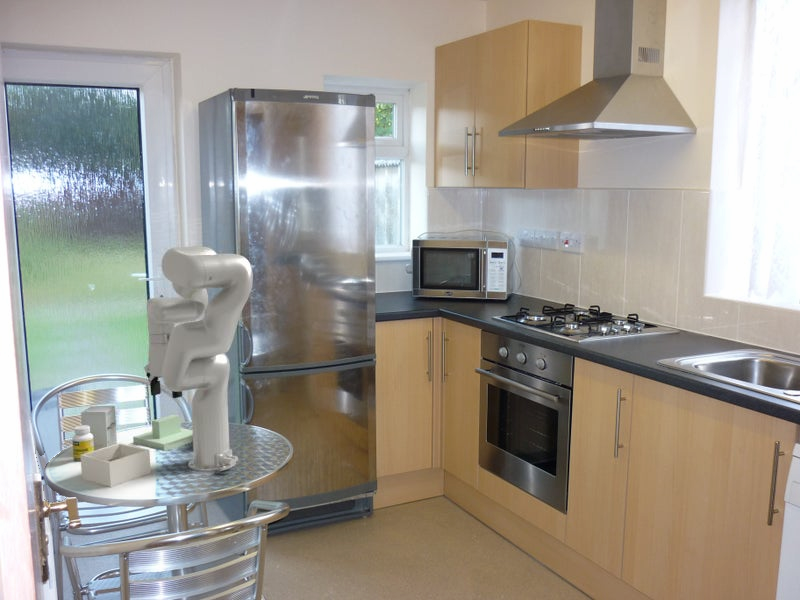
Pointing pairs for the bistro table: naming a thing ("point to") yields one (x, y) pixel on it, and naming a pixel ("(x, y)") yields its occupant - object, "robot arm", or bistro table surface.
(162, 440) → the lid
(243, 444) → the bistro table surface
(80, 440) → the supplement bottle
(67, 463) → the bistro table surface
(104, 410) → the supplement box
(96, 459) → the storage box
